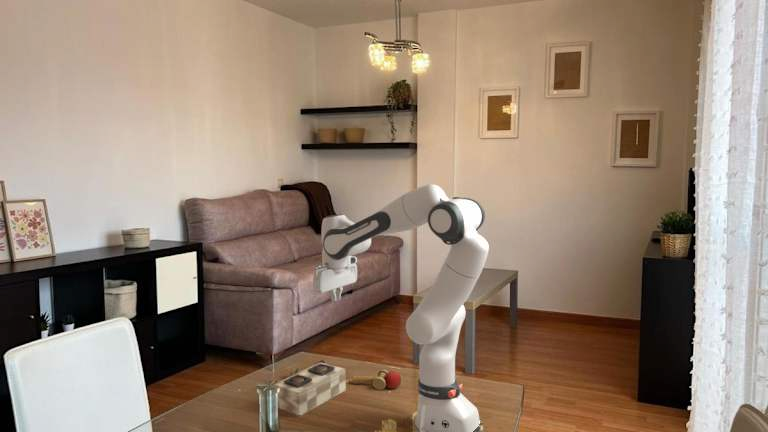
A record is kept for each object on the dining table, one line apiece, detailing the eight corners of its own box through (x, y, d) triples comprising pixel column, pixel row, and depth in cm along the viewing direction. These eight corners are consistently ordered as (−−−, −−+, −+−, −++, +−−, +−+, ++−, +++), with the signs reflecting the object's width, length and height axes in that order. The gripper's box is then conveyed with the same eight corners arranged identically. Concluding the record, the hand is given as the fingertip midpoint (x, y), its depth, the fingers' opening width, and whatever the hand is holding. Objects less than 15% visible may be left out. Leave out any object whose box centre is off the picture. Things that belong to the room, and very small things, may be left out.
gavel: (314, 354, 235) (336, 356, 232) (314, 365, 235) (336, 368, 232) (289, 369, 215) (313, 372, 212) (289, 381, 215) (313, 384, 212)
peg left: (307, 402, 195) (306, 379, 194) (299, 407, 192) (298, 383, 191) (298, 400, 198) (297, 376, 197) (290, 404, 194) (289, 380, 193)
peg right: (330, 390, 205) (329, 367, 204) (322, 394, 202) (322, 371, 201) (321, 388, 207) (320, 365, 206) (314, 391, 204) (313, 369, 203)
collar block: (345, 390, 206) (345, 366, 205) (299, 416, 187) (298, 389, 186) (320, 383, 213) (319, 359, 212) (273, 407, 193) (272, 381, 192)
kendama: (350, 392, 208) (398, 390, 203) (349, 374, 209) (396, 372, 203) (358, 387, 215) (404, 385, 210) (356, 370, 216) (402, 368, 211)
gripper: (322, 267, 187) (323, 308, 189) (360, 257, 204) (360, 295, 205) (307, 265, 191) (308, 305, 192) (346, 255, 207) (347, 292, 209)
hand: (336, 300), depth 199 cm, fingers closed
